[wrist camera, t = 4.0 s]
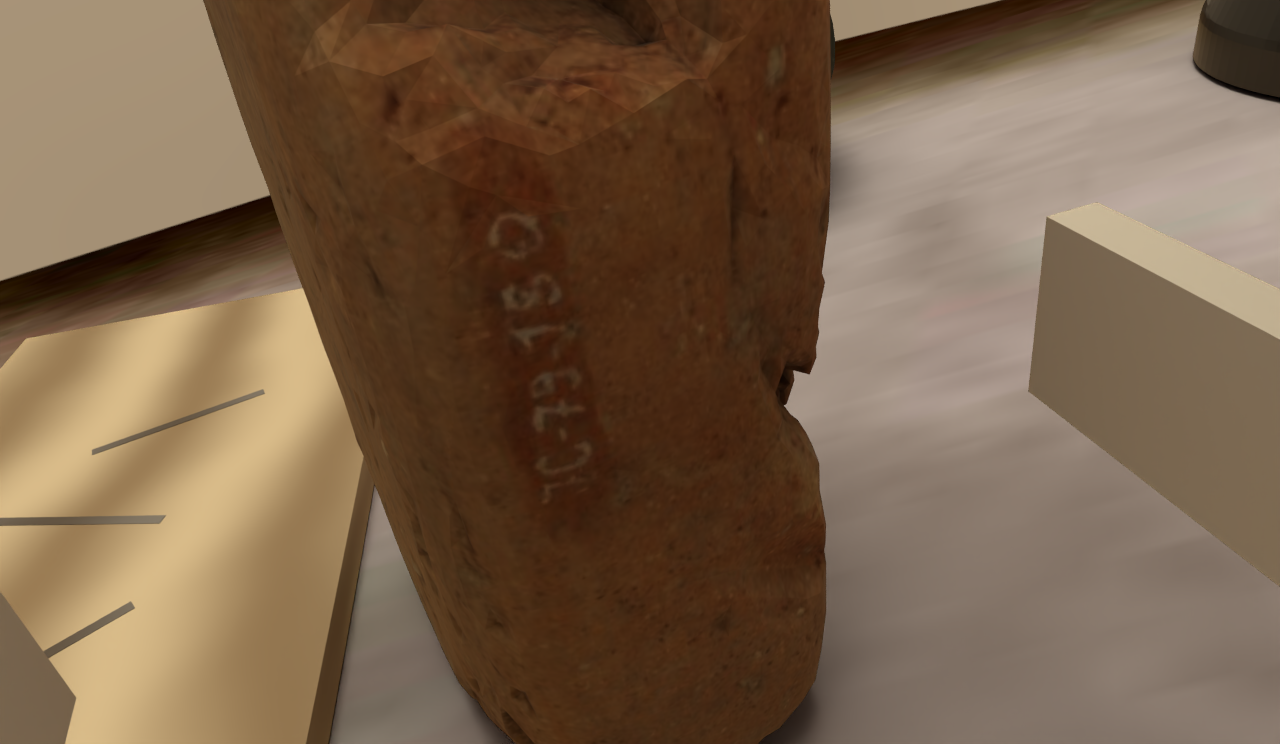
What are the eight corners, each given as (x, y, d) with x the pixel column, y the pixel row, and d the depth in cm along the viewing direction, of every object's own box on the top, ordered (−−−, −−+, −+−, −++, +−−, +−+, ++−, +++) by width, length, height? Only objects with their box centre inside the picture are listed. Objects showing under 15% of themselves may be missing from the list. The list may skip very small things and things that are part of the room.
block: (393, 538, 24) (-1, -504, 13) (653, 433, 26) (498, -533, 15) (537, 920, 15) (-244, -1148, 5) (906, 717, 18) (950, -1005, 7)
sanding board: (408, 293, 36) (400, 270, 35) (234, 1271, 12) (204, 1245, 12) (39, 361, 35) (25, 338, 35) (-885, 1515, 12) (-971, 1501, 11)
